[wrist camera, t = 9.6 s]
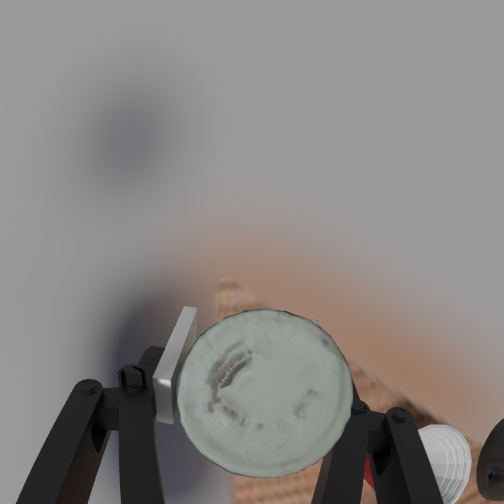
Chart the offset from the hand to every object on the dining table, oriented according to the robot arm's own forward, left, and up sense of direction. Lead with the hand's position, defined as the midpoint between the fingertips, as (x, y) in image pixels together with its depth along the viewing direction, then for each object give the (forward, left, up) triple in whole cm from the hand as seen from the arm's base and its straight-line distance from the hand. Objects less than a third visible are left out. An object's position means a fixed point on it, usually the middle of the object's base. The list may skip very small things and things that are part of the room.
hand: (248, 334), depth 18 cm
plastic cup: (-22, -1, -20) cm, 30 cm away
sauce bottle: (-2, +3, -9) cm, 9 cm away
